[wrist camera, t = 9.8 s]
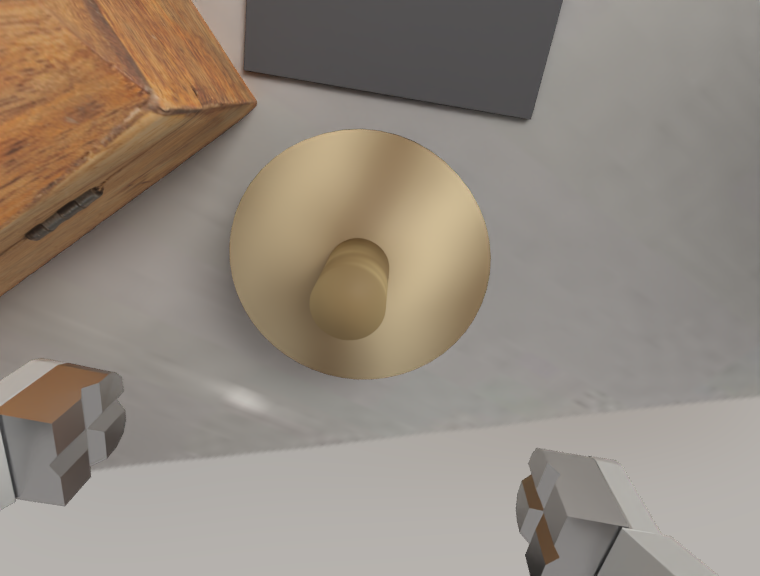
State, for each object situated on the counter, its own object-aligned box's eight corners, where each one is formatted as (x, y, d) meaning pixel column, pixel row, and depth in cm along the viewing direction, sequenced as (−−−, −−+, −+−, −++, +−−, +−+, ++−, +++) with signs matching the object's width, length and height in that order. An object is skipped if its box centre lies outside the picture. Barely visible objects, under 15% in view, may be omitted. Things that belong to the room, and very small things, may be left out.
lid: (516, 154, 18) (556, 168, 13) (455, 384, 22) (469, 457, 17) (243, 107, 18) (186, 105, 13) (233, 347, 22) (186, 412, 17)
